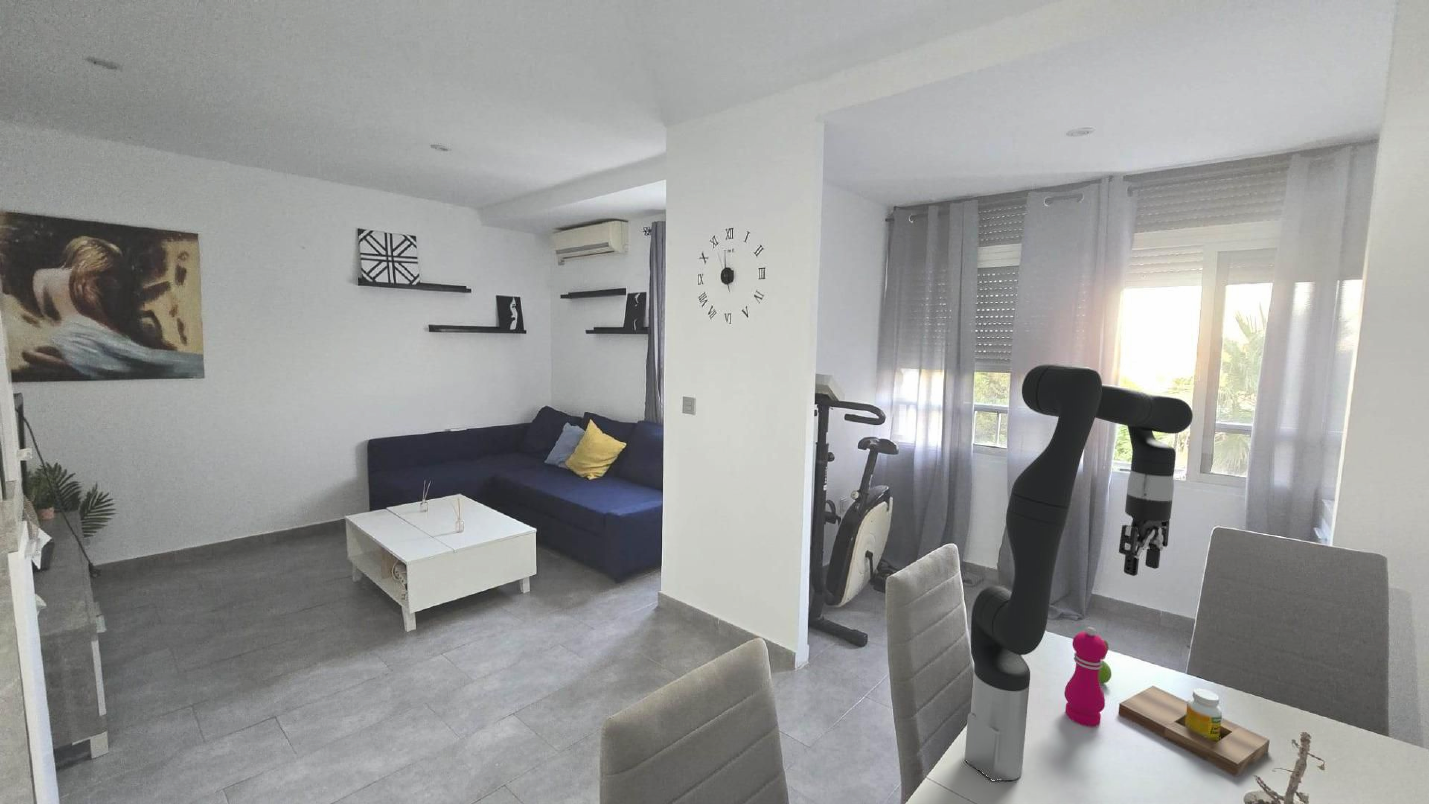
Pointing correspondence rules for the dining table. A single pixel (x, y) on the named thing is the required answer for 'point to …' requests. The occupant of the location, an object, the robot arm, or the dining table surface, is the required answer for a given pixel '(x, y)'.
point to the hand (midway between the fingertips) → (1141, 570)
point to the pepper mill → (1086, 680)
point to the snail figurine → (1104, 669)
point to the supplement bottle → (1204, 714)
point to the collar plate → (1168, 722)
